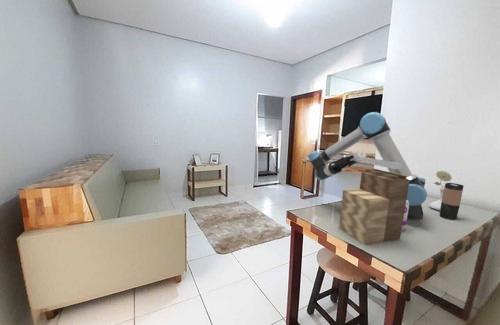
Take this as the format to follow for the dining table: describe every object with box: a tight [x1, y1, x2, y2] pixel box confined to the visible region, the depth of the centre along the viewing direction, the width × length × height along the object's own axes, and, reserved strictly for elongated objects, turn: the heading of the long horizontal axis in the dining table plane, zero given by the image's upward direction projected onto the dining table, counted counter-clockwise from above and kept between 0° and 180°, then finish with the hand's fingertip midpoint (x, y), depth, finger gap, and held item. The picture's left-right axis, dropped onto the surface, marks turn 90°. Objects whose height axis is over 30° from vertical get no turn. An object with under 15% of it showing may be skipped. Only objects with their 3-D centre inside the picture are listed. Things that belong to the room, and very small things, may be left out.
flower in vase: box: [428, 170, 453, 211], centre depth 131 cm, size 13×11×25 cm
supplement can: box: [401, 200, 409, 232], centre depth 104 cm, size 8×8×15 cm
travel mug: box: [439, 182, 465, 221], centre depth 118 cm, size 8×8×20 cm
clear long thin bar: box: [344, 154, 402, 169], centre depth 102 cm, size 30×3×2 cm, turn 17°
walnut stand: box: [338, 168, 410, 246], centre depth 96 cm, size 16×20×30 cm
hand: (361, 154), depth 107 cm, fingers closed on clear long thin bar, 3 cm apart
